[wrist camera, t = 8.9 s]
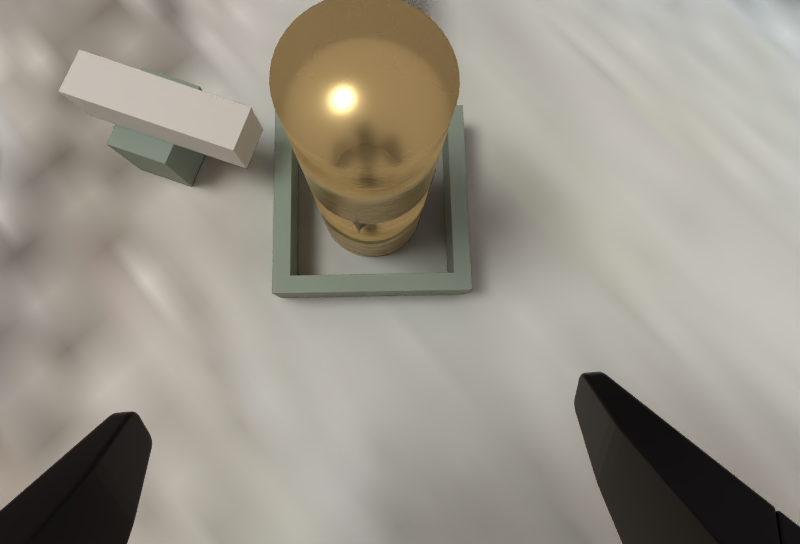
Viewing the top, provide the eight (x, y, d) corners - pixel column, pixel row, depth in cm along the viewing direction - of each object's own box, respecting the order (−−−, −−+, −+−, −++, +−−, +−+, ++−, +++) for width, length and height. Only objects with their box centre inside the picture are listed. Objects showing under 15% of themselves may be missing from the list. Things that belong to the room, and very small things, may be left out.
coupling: (438, 221, 24) (497, 102, 12) (359, 275, 23) (339, 205, 12) (383, 146, 25) (388, -39, 13) (304, 197, 24) (232, 52, 12)
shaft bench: (464, 294, 24) (486, 280, 19) (112, 301, 23) (39, 288, 18) (449, -18, 26) (465, -102, 21) (136, -22, 25) (78, -110, 21)
